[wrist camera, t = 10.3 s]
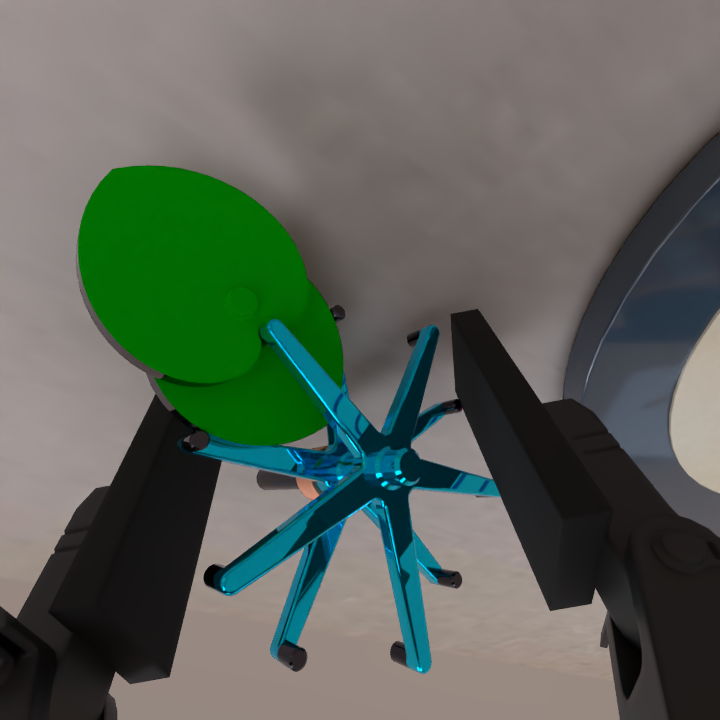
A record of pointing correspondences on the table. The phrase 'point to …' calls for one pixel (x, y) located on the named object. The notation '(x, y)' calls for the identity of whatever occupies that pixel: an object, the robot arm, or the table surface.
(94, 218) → the spiky blue green toy
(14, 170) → the table surface
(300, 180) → the table surface
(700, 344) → the plate
